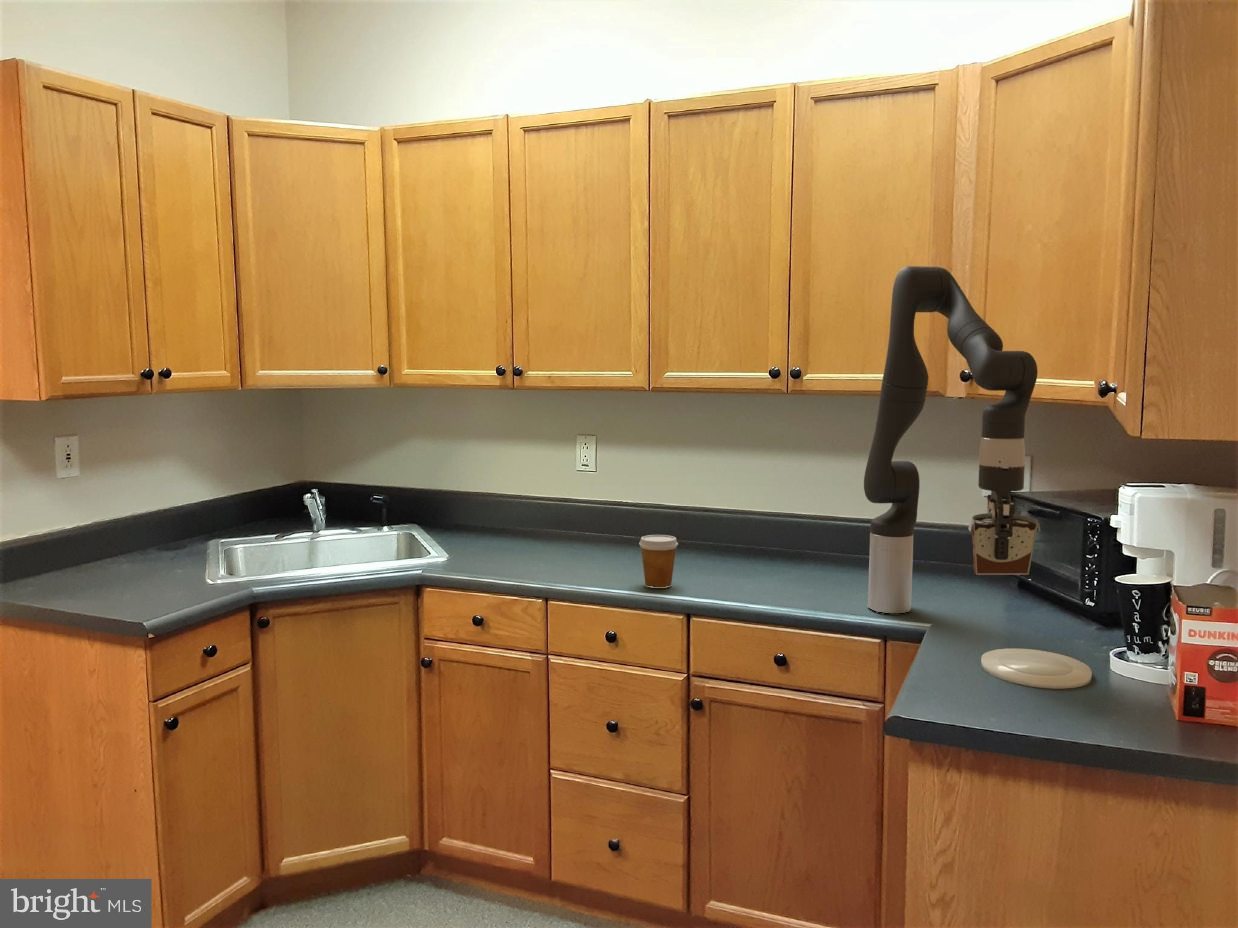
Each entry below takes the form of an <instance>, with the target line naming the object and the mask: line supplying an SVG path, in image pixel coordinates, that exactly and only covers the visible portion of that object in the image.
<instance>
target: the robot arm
mask: <svg viewBox="0 0 1238 928" xmlns="http://www.w3.org/2000/svg"><path fill="white" fill-rule="evenodd" d="M968 299H969V298H968V297H967V296H966V294H965V293H964V291H963V289H962V288H961V286H960V285H959V284H958V282H957V280H956V279H955V277H954V276H953V275H952V274H951V272H950V271H948V270H947V269H946V268H944V267H940V266H917V265H909V266H908V265H907V266H904V267H902V268H901V269H900V270H898V272H897V274H896V276H895V278H894V282H893V287H892V294H891V303H890V304H891V305H890V321H889V337H888V344H887V350H886V351H887V352H886V357H885V358H886V359H885V365H884V371H883V376H882V381H881V387H880V394H879V402H878V410H877V416H876V417H877V418H876V422H875V427H874V428H875V429H874V434H873V437H872V442H871V446H870V450H869V454H868V457H867V458H868V459H867V462H866V466H865V471H864V476H863V490H864V491H863V492H864V495H865V497H866V499H867V500H868V501H869V502H870V503H872V504H891V506H890V508H889V509H888V510H887V511H886V512H884V513H882V514H880V515H879V516H876V517H874V518H872V520H871V522H870V525H869V533H870V534H869V555H868V556H869V559H868V561H869V562H868V563H869V564H868V589H867V591H868V592H867V608H868V607H869V608H870V609H872V610H875V611H878V612H886V613H904V612H909V611H910V610H911V609H912V587H913V586H912V585H913V584H912V583H913V564H914V563H913V562H914V561H913V558H914V557H913V556H914V534H915V531H914V530H915V526H916V523H917V518H918V508H919V507H918V505H919V497H920V475H919V474H920V473H919V470H918V468H917V466H916V464H914V462H911V461H908V460H893V458H894V457H893V456H894V453H895V450H896V448H897V446H898V444H899V442H900V440H901V438H902V437H903V436H905V433H906V432H907V431H908V430H909V429H910V428H911V426H912V425H913V424H914V423H915V421H916V420H917V419H918V417H919V416H920V414H921V412H922V411H923V409H924V406H925V402H926V397H927V392H928V391H927V390H928V385H929V372H928V368H927V366H926V363H925V361H924V359H923V357H922V355H921V353H920V350H919V347H918V345H917V343H916V337H915V318H916V313H927V314H928V313H939V314H941V315H943V316H944V317H945V318H947V319H948V321H947V326H946V327H947V328H946V329H947V331H946V332H947V337H948V339H949V342H950V343H951V345H952V346H953V347H954V348H955V349H956V351H957V352H958V353H959V354H960V355H961V356H962V357H963V358H964V360H965V361H966V364H967V366H968V369H969V371H970V374H971V376H972V379H973V381H974V382H975V384H976V385H978V387H980V388H981V389H983V390H986V391H990V392H991V391H993V392H994V391H995V392H997V391H1002V392H1003V391H1004V394H1003V397H1002V399H1001V400H1000V401H999V402H997V403H993V404H990V405H987V406H986V407H985V408H983V411H982V416H981V417H982V419H981V420H982V421H981V423H982V424H981V440H980V447H979V459H978V463H979V464H978V482H977V483H978V487H979V489H981V490H985V491H988V492H989V491H991V492H990V494H987V496H986V506H987V511H986V512H987V513H988V518H991V524H993V525H994V526H995V534H994V536H995V548H994V557H995V559H997V560H1007V559H1008V547H1009V539H1010V537H1012V535H1013V532H1012V530H1013V516H1014V514H1015V512H1014V511H1015V508H1016V507H1015V505H1014V500H1012V499H1011V492H1019V491H1022V490H1024V488H1025V466H1026V464H1025V462H1026V446H1025V426H1026V425H1025V423H1026V419H1025V418H1026V414H1027V411H1028V407H1029V405H1030V401H1031V398H1032V396H1033V393H1034V389H1035V386H1036V382H1037V379H1038V373H1039V371H1038V365H1037V361H1036V360H1035V358H1034V356H1033V355H1032V354H1031V353H1030V352H1028V351H1023V350H1003V349H1004V343H1003V340H1002V338H1001V336H1000V335H999V334H998V333H997V331H995V330H994V329H993V328H992V327H991V326H990V325H989V324H988V323H987V322H986V320H984V319H983V318H982V317H981V316H980V315H979V314H978V313H977V312H976V310H975V309H974V307H973V306H972V305H971V302H970V301H969V300H968ZM1001 526H1005V527H1006V530H1000V529H1001ZM870 609H869V610H870ZM872 610H871V611H872ZM878 612H877V613H878ZM910 612H911V611H910ZM910 612H909V613H910Z"/></svg>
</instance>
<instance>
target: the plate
mask: <svg viewBox="0 0 1238 928" xmlns="http://www.w3.org/2000/svg"><path fill="white" fill-rule="evenodd" d="M980 659H981V660H980V667H981V668H982V670H984V671H985V673H987V674H988V675H991V676H993V677H995V678H998V679H1000V680H1003V681H1005V682H1009V683H1012V684H1016V685H1022V686H1026V687H1032V688H1040V689H1056V690H1057V689H1059V690H1061V689H1063V690H1064V689H1076V688H1081V687H1083V686H1087V685H1089V684H1090V683H1091V681H1092V676H1093V675H1092V674H1093V672H1092V669H1091V667H1089V666H1088V664H1086V663H1084V662H1082V661H1081V660H1078V659H1076V658H1073V657H1070V656H1067V655H1064V654H1061V653H1056V652H1051V651H1045V650H1039V649H1031V648H999V649H993V650H989V651H986V652H985V653H983V654H982V655H981V658H980Z"/></svg>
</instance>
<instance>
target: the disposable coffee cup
mask: <svg viewBox="0 0 1238 928" xmlns="http://www.w3.org/2000/svg"><path fill="white" fill-rule="evenodd" d="M638 545H639V547H640V549H641V558H642V568H643V575H644V576H643V577H644V582H645V584H646V585H647V586H653V587H666V586H670V585H671V586H672V582H673V574H674V565H675V559H676V551H677V547H678V545H679V542H678V541H677V537H675V536H673V535H667V534H649V535H643V536H641V538H640V541H639V543H638ZM646 585H645V586H646Z"/></svg>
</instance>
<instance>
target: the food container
mask: <svg viewBox="0 0 1238 928" xmlns="http://www.w3.org/2000/svg"><path fill="white" fill-rule="evenodd" d="M1040 525H1041V524H1040V523H1039V520H1038V519H1036V518H1035V517H1034V518H1033V517H1031V516H1026V515H1021V514H1015V513H1014V516H1013V530H1012V532H1013V535H1012V537H1010V539H1009V547H1008V559H1007V560H997V559H995V557H994V548H995V536H994V534H995V526H994V525H993V524H991V518H988V513H979V514H975V515H973V516H971V519H970V521H969V524H968V527H967V528H968V531H969V532H970V533H972V534H971V536H972V554H973V557H972V558H973V560H972V561H973V573H974V575H976V576H987V575H989V576H990V575H994V576H995V575H997V576H1001V575H1003V576H1004V575H1006V576H1007V575H1010V576H1011V575H1012V576H1013V575H1017V576H1019V575H1022V576H1023V575H1025V576H1027V575H1029V574H1030V569H1031V564H1032V563H1031V562H1032V559H1033V554H1034V547H1035V541H1036V536H1037V533H1038V532H1041V527H1040ZM1000 530H1006V527H1005V526H1001V529H1000Z"/></svg>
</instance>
